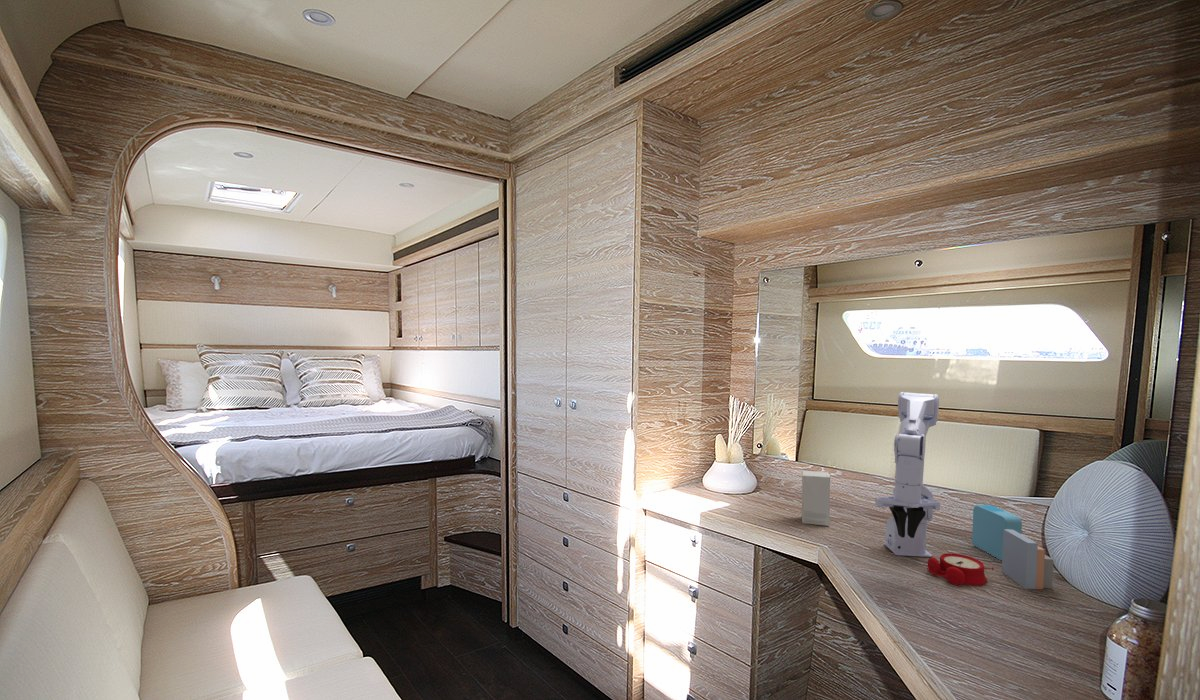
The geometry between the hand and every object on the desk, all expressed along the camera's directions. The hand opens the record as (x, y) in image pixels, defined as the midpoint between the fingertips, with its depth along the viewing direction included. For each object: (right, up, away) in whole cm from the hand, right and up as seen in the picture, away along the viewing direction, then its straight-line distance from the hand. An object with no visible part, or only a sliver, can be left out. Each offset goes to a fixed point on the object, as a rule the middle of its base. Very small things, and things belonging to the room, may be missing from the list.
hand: (906, 536), depth 136 cm
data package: (+32, -10, +14) cm, 37 cm away
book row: (+28, -10, -3) cm, 30 cm away
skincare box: (-8, -8, +36) cm, 38 cm away
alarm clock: (+12, -10, -1) cm, 16 cm away
